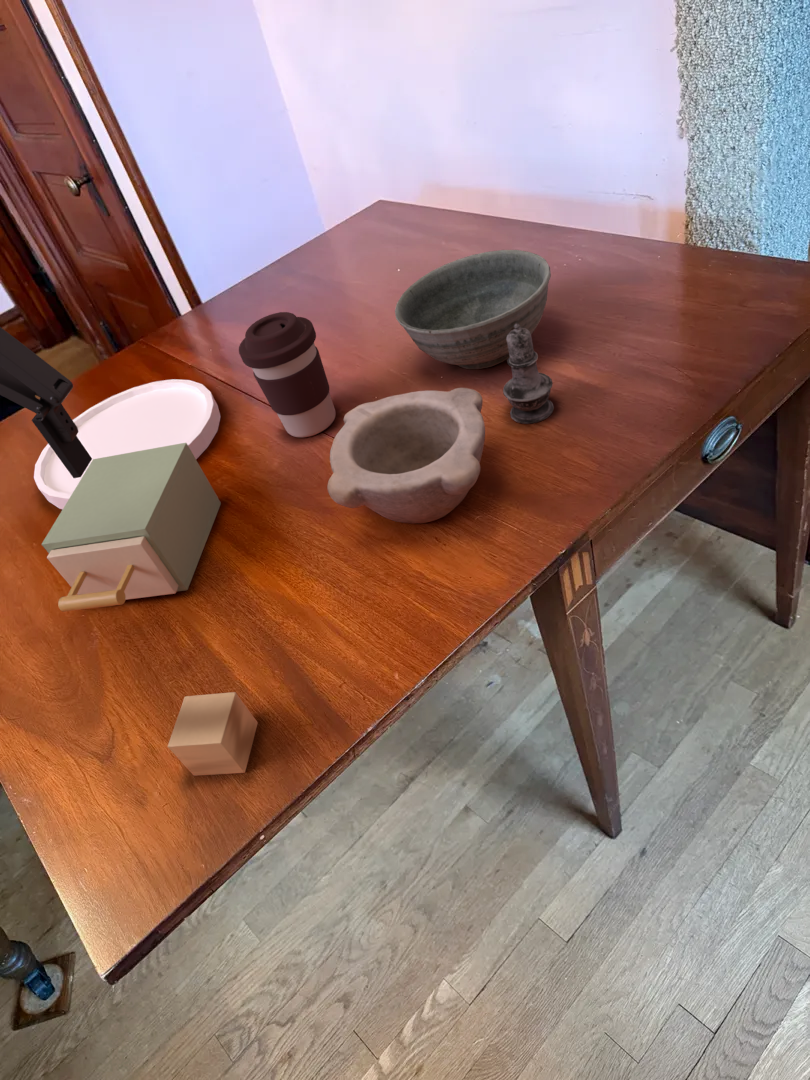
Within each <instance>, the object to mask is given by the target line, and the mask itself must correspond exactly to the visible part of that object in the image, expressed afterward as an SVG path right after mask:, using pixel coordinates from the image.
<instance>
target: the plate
mask: <svg viewBox="0 0 810 1080" xmlns="http://www.w3.org/2000/svg"><path fill="white" fill-rule="evenodd" d="M215 399H216V398H214V395H213V394H212V391H210V390H209V389H208V388H207V387H206V386H205V385H204V384H203V383H201V382H196V381H194V380H190V379H176V378H174V379H173V378H171V379H165V380H164V379H163V380H156V381H151V382H148V383H143V384H140V385H137V386H134V387H131V388H129V389H126V390H123V391H121V392H119V393H117V394H113V395H111V396H110V397H107V398H105V399H103V400H102V401H99V402H98V403H97V404H95V405H93V406H91V407H89V408H87V409H86V410H85V411H84V412H82V413H81V414H79V415H78V416H76V417H74V418H73V419H72V420H73V422H74V423H75V425H76V426H77V428H78V433H77V435H76V436H77V437H78V439H79V440H80V442H81V443H82V445H83V446H84V448H85V449H86V451H87V452H88V453H89V455H90V456H91V458H92V460H93V459H98V458H103V457H109V456H114V455H120V454H125V453H131V452H136V451H142V450H148V449H153V448H159V447H164V446H170V445H175V444H181V443H187V445H188V446H189V449H190V450H191V452H192V453H193V455H194V457H195V459H196V460H197V459H199V458H200V456H201V455H202V454H203V453H204V452H205V451H206V450H207V449H208V447H209V446H210V444H211V443H212V441H213V439H214V438H215V436H216V434H217V433H218V431H219V427H220V422H221V412H220V410H219V409H220V408H219V405H218V403H217V401H216V400H215ZM92 460H91V461H90V463H89V465H90V464H91V462H92ZM89 465H88V466H87V468H86V470H87V469H88V467H89ZM86 470H85V471H84V473H83V474H82V476H81V477H79V478H73V477H72V475H71V474H70V473H69V471H68V470H67V469H66V467H65V466H64V464H63V463H62V462H61V460H60V459H59V458H58V456H57V455H56V453H55V452H54V451H53V449H52V448H51V447H50V445H49V444H48V443H47V444H46V446H44V448H43V449H42V451H41V453H40V455H39V456H38V459H37V461H36V462H35V464H34V471H33V479H34V482H35V484H36V486H37V488H38V490H39V491H40V493H41V494H42V495H43V497H44V498H45V499H46V500H47V501H48V503H50V504H52V505H53V506H55V507H56V508H58V509H59V510H63V508H64V506H65V505H66V503H67V501H68V500H69V498H70V497H71V495H72V493H73V492H74V490H75V488H76V487H77V485H78V483H79V482H80V480H81V478H82V477H83V475H84V474H85V472H86Z"/></svg>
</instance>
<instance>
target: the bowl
mask: <svg viewBox="0 0 810 1080" xmlns="http://www.w3.org/2000/svg"><path fill="white" fill-rule="evenodd" d="M551 276H552V273H551V266H550V265H549V264H548V261H547V260H546V259H545V258H544V257H542V256H541V255H539V254H537V253H534V252H530V251H527V250H520V249H499V250H492V251H491V250H490V251H485V252H480V253H475V254H471V255H467V256H464V257H462V258H458V259H455V260H453V261H450V262H448V263H446V264H443V265H441V266H439V267H436V268H435V269H432V270H431V271H429V272H428V273H426V274H425V275H423V276H421V277H420V278H418V279H417V280H416V281H414V282H413V283H412V284H411V285H409V287H408V288H407V289H406V290H405V291H404V292H403V293H402V294H401V296H400V297H399V299H398V301H397V302H396V305H395V309H394V314H395V320H396V321H397V322H398V324H399V325H400V326H401V327H402V328H403V329H404V331H405V332H406V333H407V335H408V336H409V337H410V339H411V340H412V341H413V343H415V345H416V346H417V348H418V349H419V350H420V351H422V352H423V353H424V354H427V355H428V356H430V357H431V358H432V359H434V360H436V361H439V362H441V363H445V364H449V365H456V366H459V368H463V369H467V370H482V369H486V368H490V367H493V366H496V365H499V364H501V363H503V362H504V361H507V360H508V358H509V357H510V355H509V350H508V345H507V335H508V334H509V332H510V331H512V330H513V329H515V328H514V326H515V323H517V324H518V325H520V326H519V328H525V329H527V330H529V332H530V333H531V335H532V334H534V332H535V330H536V328H538V325H539V324H540V322H541V320H542V318H543V314H544V311H545V308H546V305H547V301H548V293H549V283H550V280H551Z"/></svg>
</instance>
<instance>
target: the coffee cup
mask: <svg viewBox="0 0 810 1080" xmlns="http://www.w3.org/2000/svg"><path fill="white" fill-rule="evenodd" d="M244 335H245V336H244V338H243V339H242V340H241V342H240V343H239V346H238V354H239V356H240V359H241V361H242V362H243V364H244V365H245V366H247V367H248V368H251V370H252V372H253V373H252V374H253V376H254V379H255V381H256V382H257V384H258V386H259V388H260V390H261V391H262V393H263V395H264V396H265V398H266V400H267V402H268V404H269V405H270V407H271V409H272V411H273V412H274V413H275V414H276V415H277V417H278V419H279V420H280V422H281V424H282V426H283V428H284V430H285V432H286V433H287V434H289V435H290V436H292V437H294V438H307V437H308V438H309V437H313V436H315V435H317V434H319V433H322V432H323V431H325V430H326V429H328V428H329V427H330V426H331V425H332V424H333V422H334V421H335V418H336V408H335V405H334V402H333V399H332V396H331V392H330V384H329V380H328V378H327V374H326V370H325V368H324V363H323V361H322V357H321V355H320V351H319V349H318V347H317V346H316V344H315V341H316V339H317V332H316V330H315V327H314V324H313V322H312V321H311V320H309V319H308V318H306V317H304V316H303V317H302V316H297V315H296V314H294V313H291V312H289V311H281V312H275V313H271V314H268V315H265V316H263V317H261V318H260V319H258V320H256V321H255V322H253V323H252V324H250V326H249V327H248V328H247V329H246V331H245V334H244Z"/></svg>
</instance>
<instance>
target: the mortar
mask: <svg viewBox="0 0 810 1080" xmlns="http://www.w3.org/2000/svg"><path fill="white" fill-rule="evenodd" d="M483 404H484V403H483V396H482V394H481V393H480V392H479V391H477V390H476V389H473V388H468V387H457V388H454V389H451V390H448V391H445V390H431V389H430V390H427V389H426V390H418V391H411V392H406V393H400V394H395V395H390V396H387V397H383V398H380V399H377V400H374V401H370V402H369V401H368V402H364V403H362V404H359V405H356V407H354V408H352V409H350V410H349V411H348V412H346V413H345V414H344V417H343V423H344V424H343V426H342V427H341V428H340V430H339V431H338V432H337V433H336V434H335V436H334V439H333V441H332V444H331V447H330V452H329V462H330V468H331V472H332V474H331V476H330V477H329V479H328V481H327V487H326V489H327V493H328V495H329V497H330V499H332V501H333V502H335V503H336V504H338V505H340V506H342V507H345V508H349V509H356V508H360V507H363V506H365V507H366V508H368V509H370V510H371V511H373V512H375V513H376V514H378V515H379V516H381V517H383V518H385V519H388V520H391V521H393V522H397V523H402V524H426V523H430V522H434V521H437V520H439V519H442V518H443V517H445V516H447V515H449V514H450V513H451V512H452V511H453V510H454V509H455V508H457V507H458V506H459V505H460V504H461V503H462V502H463V501H464V499H465V498H466V496H467V495H468V493H469V491H470V490H471V488H473V487H474V486H475V484H476V482H477V480H478V478H479V475H480V473H481V464H480V463H481V460H482V457H483V451H484V447H485V440H486V439H485V438H486V426H485V421H484V417H483V414H482V408H483Z"/></svg>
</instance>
